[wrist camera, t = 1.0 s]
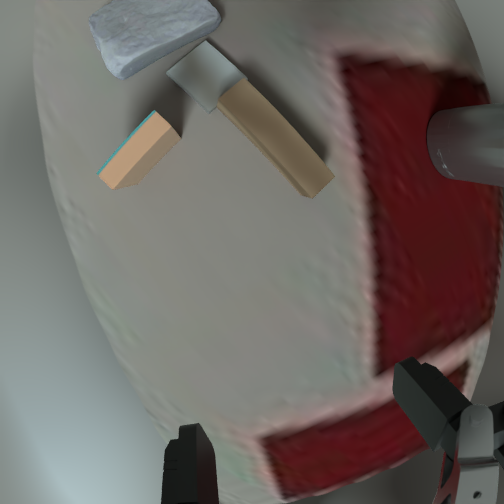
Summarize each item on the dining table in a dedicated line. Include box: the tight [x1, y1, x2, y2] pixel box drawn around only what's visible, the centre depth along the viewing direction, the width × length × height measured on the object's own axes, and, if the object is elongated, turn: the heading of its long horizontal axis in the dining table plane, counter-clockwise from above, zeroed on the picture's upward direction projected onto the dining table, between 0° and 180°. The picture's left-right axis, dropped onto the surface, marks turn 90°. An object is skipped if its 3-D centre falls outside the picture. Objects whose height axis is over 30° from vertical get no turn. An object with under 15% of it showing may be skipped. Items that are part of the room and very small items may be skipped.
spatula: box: [166, 40, 335, 199], centre depth 25 cm, size 5×18×4 cm, turn 44°
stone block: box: [89, 0, 221, 80], centre depth 21 cm, size 12×5×10 cm
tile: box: [97, 110, 181, 190], centre depth 22 cm, size 6×2×8 cm, turn 134°
